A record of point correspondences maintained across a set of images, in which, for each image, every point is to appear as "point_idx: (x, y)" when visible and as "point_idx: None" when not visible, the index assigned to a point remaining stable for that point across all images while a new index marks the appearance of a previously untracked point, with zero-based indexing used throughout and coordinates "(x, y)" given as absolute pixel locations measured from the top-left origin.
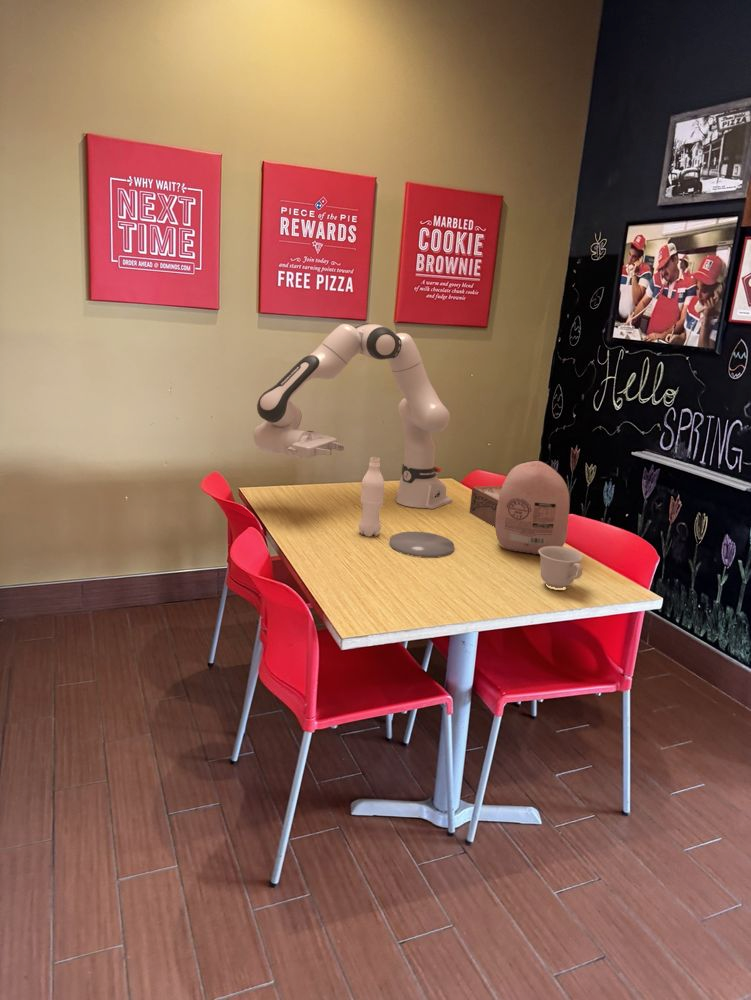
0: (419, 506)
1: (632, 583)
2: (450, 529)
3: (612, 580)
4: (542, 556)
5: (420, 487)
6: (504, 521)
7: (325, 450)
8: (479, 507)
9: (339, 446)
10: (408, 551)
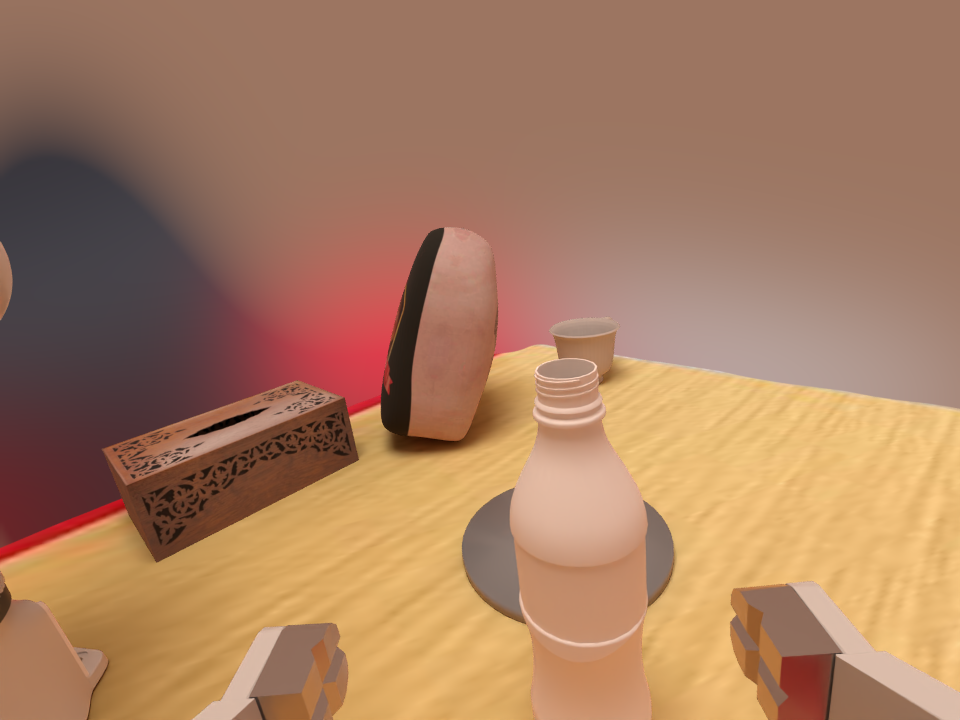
0: (84, 708)
1: (499, 356)
2: (360, 545)
3: (504, 364)
4: (611, 334)
5: (29, 646)
6: (488, 369)
7: (861, 643)
8: (205, 504)
9: (317, 675)
10: (669, 531)
